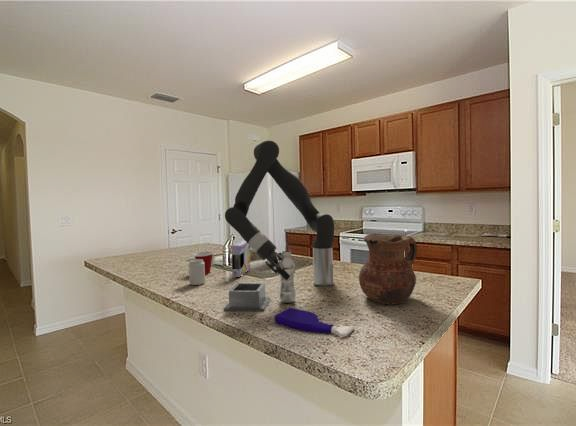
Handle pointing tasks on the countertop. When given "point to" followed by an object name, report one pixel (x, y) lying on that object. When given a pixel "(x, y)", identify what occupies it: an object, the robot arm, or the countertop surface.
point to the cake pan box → (240, 258)
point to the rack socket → (247, 297)
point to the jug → (388, 268)
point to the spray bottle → (309, 322)
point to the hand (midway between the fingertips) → (291, 276)
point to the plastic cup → (205, 259)
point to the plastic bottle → (287, 285)
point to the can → (197, 272)
